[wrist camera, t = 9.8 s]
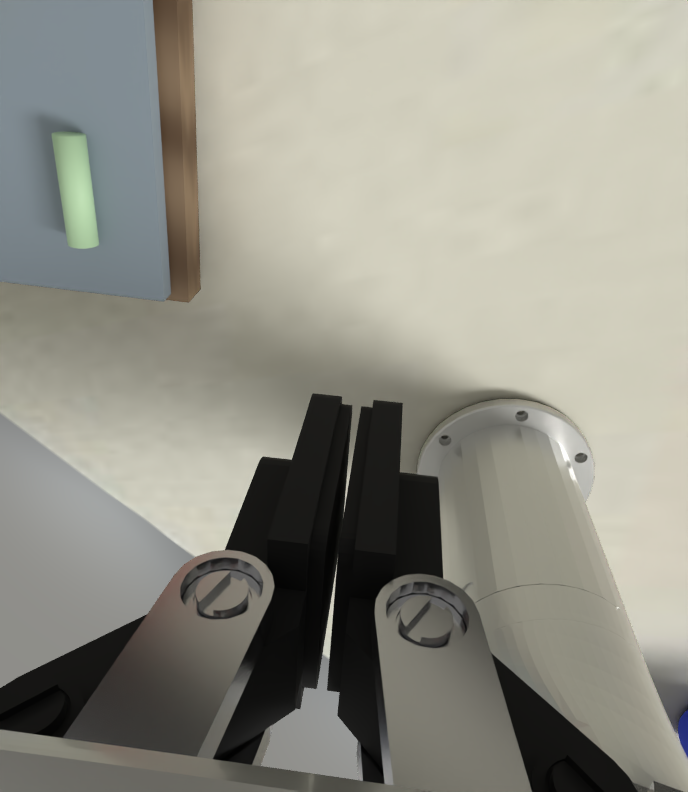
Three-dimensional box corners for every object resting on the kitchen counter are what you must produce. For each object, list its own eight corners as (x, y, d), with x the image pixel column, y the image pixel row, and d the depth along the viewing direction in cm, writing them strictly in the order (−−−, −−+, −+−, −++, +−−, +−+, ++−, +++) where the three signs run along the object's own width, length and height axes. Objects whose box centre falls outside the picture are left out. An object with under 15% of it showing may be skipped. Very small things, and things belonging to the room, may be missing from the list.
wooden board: (207, 281, 41) (188, 302, 37) (-85, 246, 42) (-129, 263, 38) (198, -103, 31) (172, -121, 27) (-186, -139, 32) (-258, -160, 28)
